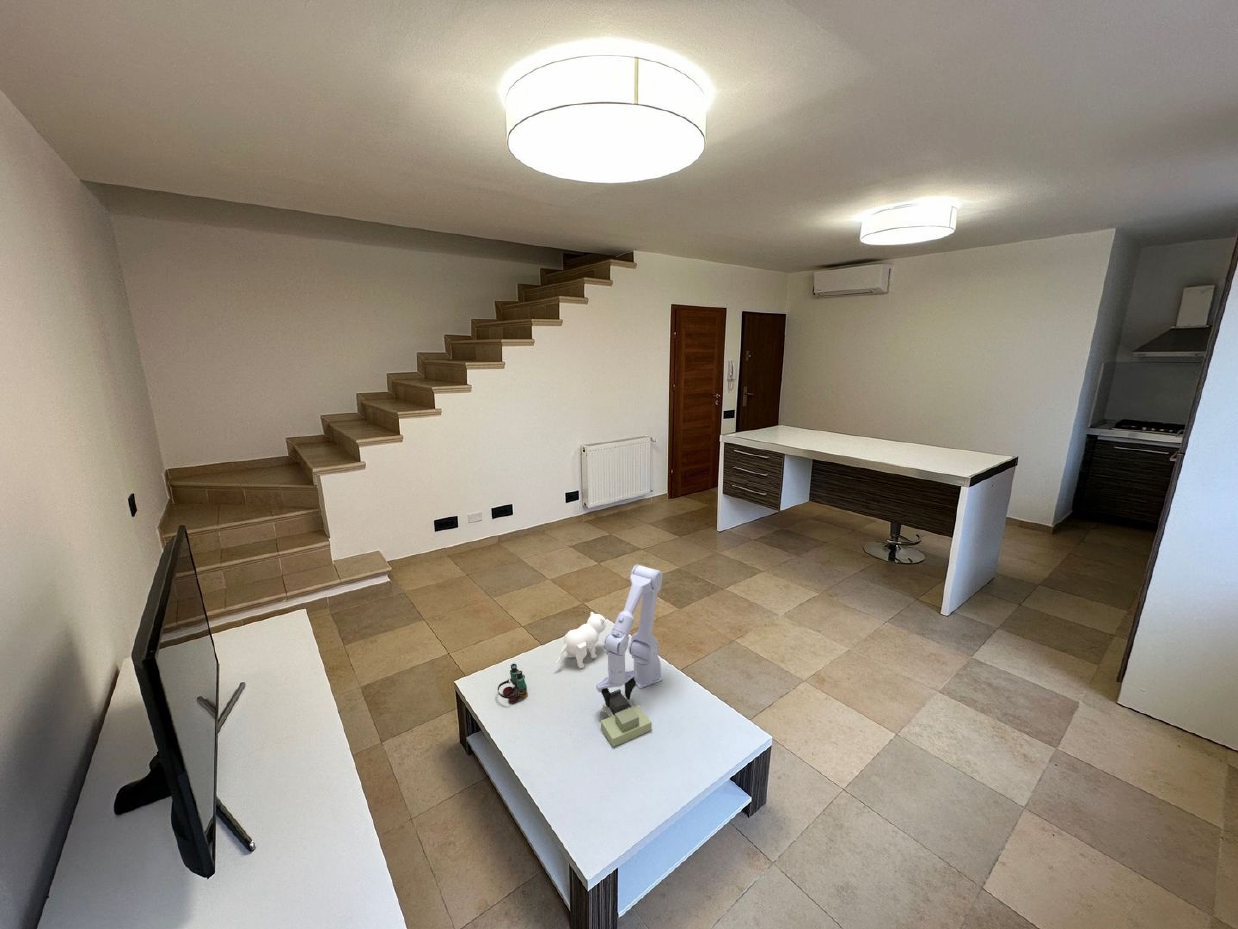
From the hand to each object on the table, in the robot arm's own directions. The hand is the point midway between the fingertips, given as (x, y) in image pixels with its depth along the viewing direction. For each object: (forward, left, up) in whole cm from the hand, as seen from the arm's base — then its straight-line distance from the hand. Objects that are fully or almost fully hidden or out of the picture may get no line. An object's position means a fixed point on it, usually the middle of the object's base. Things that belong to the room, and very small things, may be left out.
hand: (617, 701), depth 166 cm
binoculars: (+30, -23, -3) cm, 38 cm away
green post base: (+2, +6, -2) cm, 7 cm away
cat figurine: (0, -30, -3) cm, 30 cm away
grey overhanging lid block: (0, +1, -3) cm, 3 cm away
